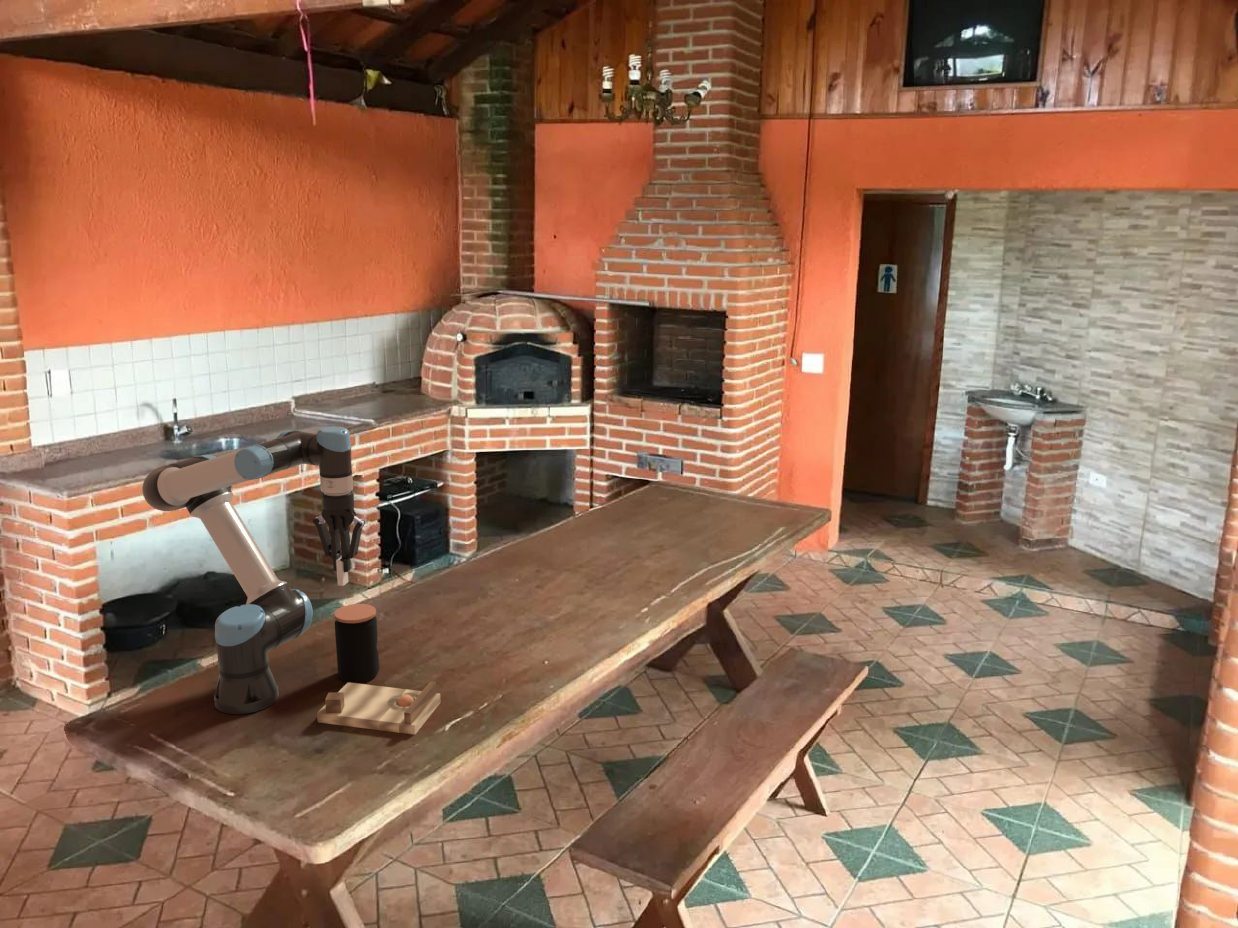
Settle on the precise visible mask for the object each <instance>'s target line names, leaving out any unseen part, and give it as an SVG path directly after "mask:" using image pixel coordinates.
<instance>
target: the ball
mask: <svg viewBox="0 0 1238 928" xmlns="http://www.w3.org/2000/svg"><path fill="white" fill-rule="evenodd" d="M413 701H414V699H413V698H412V697H411V696H410V695H402V696H401V697H400V698H399V699H398V706H400V707H408V706H410V705H411V704H412V703H413Z"/></svg>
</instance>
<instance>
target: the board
mask: <svg viewBox="0 0 1238 928" xmlns="http://www.w3.org/2000/svg"><path fill="white" fill-rule="evenodd" d="M437 691H438V687H437V682H436V681H433V680H432V681H431V680H430V681H429V682H428V684H427V685H426V686H425V687H424V688H423V689H422V690H414V689H408V688H407V689H406V688H398V687H391V686H381V685H373V684H365V683H349V682H346V684H345V685H343V686H342V688H340V689H339V691H338V692H344V708H343V710H342V713H326V705H325V704H324V705H323V706H322V707H321V708H320V709H319V711H317V712H316V718H317V719H316V720H317V723H321V724H329V725H334V726H335V725H337V726H343V727H353V728H361V729H367V730H368V729H369V730H376V731H382V732H383V731H384V732H390V733H392V732H393V733H397V734H398V733H400V734H405V735H406V734H408V735H414V736H415V735H416V734H417V733H418V732H419V731H420V729H421V728H422V727H423V725H424V724H425V723H426V721H427V720H428V719H429V718H430V717H431V715H432V714H433V713H434V711H435V710H436V709H437V708H438V706H439V705H440V704H441V703H442V702H441V693H439V692H437ZM402 695H410V696H411V697H412V698H413V699H414V701H413V703H412V704H411V705H410V706H408V707H400V706H398V699H399V698H400V697H401V696H402Z"/></svg>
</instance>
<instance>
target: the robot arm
mask: <svg viewBox="0 0 1238 928" xmlns="http://www.w3.org/2000/svg"><path fill="white" fill-rule="evenodd" d="M300 465H310V466H311V465H312V466H318V470H319V481H320V483H319V485H320V491H321V494H320V497H321V498H320V499H321V507H322V510H321V513H320V515H318V516H316V517H314V518H313V519H312V523H313V525H314V526H315V528H316V529H317V532H318V535H319V540H320V542H321V543H320V544H321V546H322V550H323V552H324V553H323V554H324V555H325V557H326V558H327V557H330V558H331V559H332V565H333V566H332V567H333V571H334V572H336V578H337V579H336V580H337V586H341V587H343V586H345V585H347V584H348V583H349V572H350V571H351V568H352V567H351V560H352V559H353V558H355V557H356V556H357V555H358V553H359V547H360V542H361V535H362V530H363V527H365V524H366V522H367V521H366V519H360V518H359V517H357V513H356V511H355V498H354V496H355V495H354V491H353V490H354V481H353V479H354V478H353V468H352V443H351V436H350V431H349V429H347V428H346V427H343V426H333V425H332V426H325V427H321V428H319V429H318V430H317V432H316V433H311V432H305V431H300V430H295V429H294V430H284V431H282V432H280V434H279V435H277V437H276V438H275V439H271V440H268V441H264V442H261V443H257V444H256V443H255V444H252V445H248V446H245V447H244V448H241V449H237V450H235V451H232V452H229V453H225V454H222V455H219V456H216V455H212V454H202V455H194V456H191V457H190V458H185V459H183V460H181V461H176V462H172V463H169V464H165V465H162V466H159V467H157V468H154V469H153V470H152V471H150V472H149V473H148V474H147V476H146V477H145V478H144V480H143V483H142V489H141V490H142V491H141V492H142V496H143V498H144V500H145V501H146V503H147V504H148V505H149V506H150V507H152V508H153V509H155V510H157V511H161V512H173V511H178V510H181V509H184V508H186V510H187V511H188V513H189V515H190V516H191V517H193V518H198V519H199V520H200V521H201V523H202V524H203V526H204V528H205V529H206V530H207V532H208V534H209V536H210V537H211V539H212V541H213V542H214V544H215V546H216V547H217V548H218V550H219V552H220V553H221V556H222V557H223V559H224V560H225V563H226V564H227V565H228V568H230V570H231V573H232V574H233V575H234V577H235V578H236V580H237V581H238V583H239V585H240V587H241V588H242V590H243V592H244V593H245V595H246V597H247V599H246V603H245V604H241V605H240V606H238V605H237V606H234V607H233V606H232V607H231V608H229V609H228V608H227V609H226V610H225V611H224V612H222V613H220V614H219V616H217V618H216V620H215V622H214V623H215V624H214V630H215V631H214V639H215V640H214V641H215V646H216V653H217V654H216V655H217V664H218V665H217V666H218V673H219V674H218V679H217V683H216V686H215V691H214V694H213V700H214V707H215V709H216V710H217V711H219V712H220V713H224V714H229V715H245V714H252V713H255V712H259V711H262V710H264V709H267V708H269V707H270V706H272V705H273V704H275V703H276V701H277V700H278V698H279V696H280V693H279V687H278V683H277V682H276V681H275V680H276V679H275V678H274V675H273V673H272V671H271V668H270V666H269V652H271V651H273V650H275V649H276V648H279V647H280V646H282V645H284V644H286V643H288V642H290V641H292V640H295V639H297V638H298V637H299V636H301V635H302V634H303V633H305V632H307V630H308V629H309V628H310V626H311V625H312V622H313V615H314V611H313V607H312V605H313V604H312V603H311V600H310V598H309V597H308V596H307V594H306V593H305V592H303V591H301V590H300V589H297V588H296V589H294V588H291V586H290V585H289V583H288V582H287V581H283V580H280V579H279V578H278V577H277V575H276V573H275V572H274V570H273V569H272V567H271V565H270V563H269V562H268V560H267V559H266V556H265V555H264V554H263V552H262V551H261V549H260V547H259V546H258V544H257V542H256V541H255V539H254V537H253V536H252V534H251V533H250V530H249V529H248V528H247V526H246V524H245V523H244V521H243V519H242V518H241V516H240V515H239V512H238V511H237V509H236V508H235V506H234V504H233V503H232V501H233V500H232V499H233V497H234V493H233V491H232V488H233V486H236V485H239V484H242V483H246V482H249V481H253V480H259V479H262V478H265V477H268V476H269V475H274V474H276V473H278V472H281V471H285V470H289V469H291V468H295V467H297V466H300ZM352 524H353V525H352ZM351 525H352V526H353V529H352V534H351V538H350V531H351ZM350 539H351V540H350Z"/></svg>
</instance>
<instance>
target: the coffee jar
mask: <svg viewBox="0 0 1238 928" xmlns="http://www.w3.org/2000/svg"><path fill="white" fill-rule="evenodd" d="M333 615H334V619H335V620H334V632H335V648H336V649H335V650H336V652H335V653H336V664H337V665H336V666H337V674H338V677H340V679H341V680H342V681H344V682H346V683H348V682H349V683H357V684H362V683H365V682H369V681H371V680H373V679H375V677H377V675H378V673H379V671H380V655H379V653H380V652H379V636H378V620H377V616H376V615H377V609H376V608H375V607H374V606H373V605H371V604H366V603H354V604H353V603H352V604H347V605H343V606H342V607H338V608H337V609H336V610H335V611H334V613H333Z"/></svg>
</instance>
